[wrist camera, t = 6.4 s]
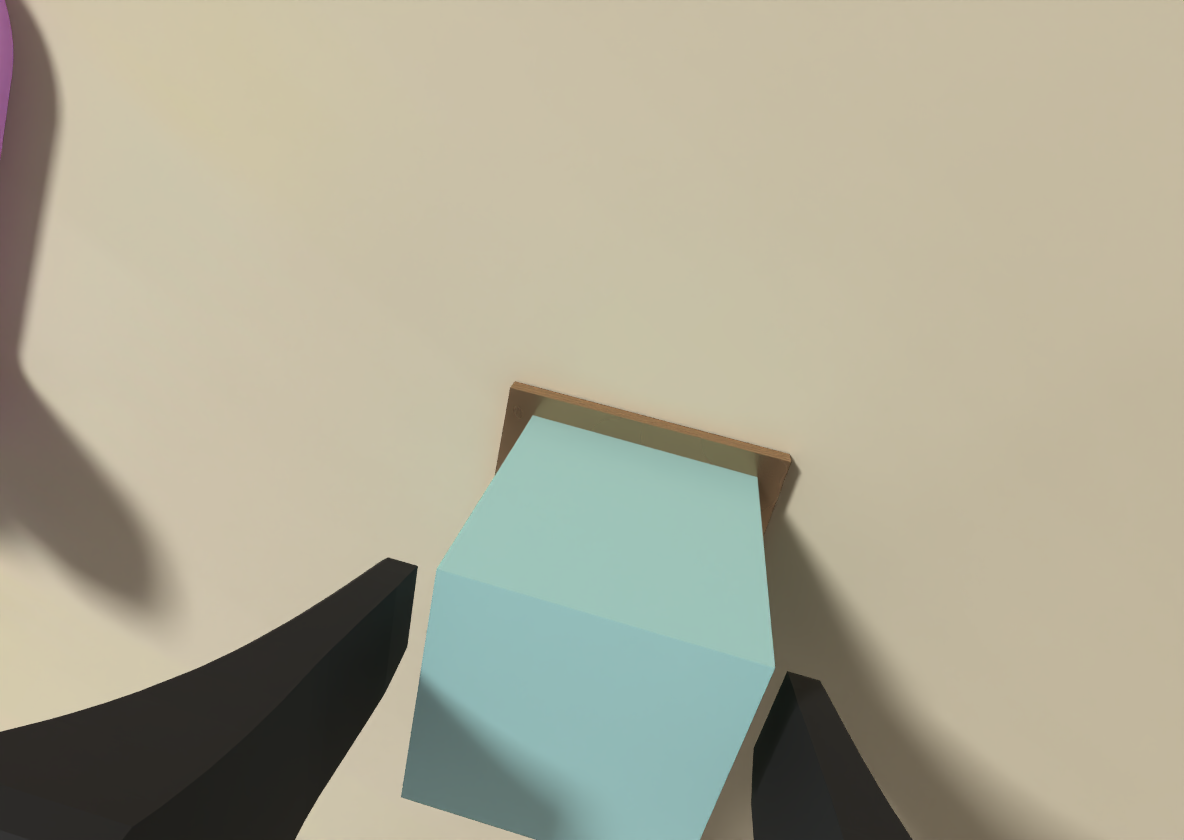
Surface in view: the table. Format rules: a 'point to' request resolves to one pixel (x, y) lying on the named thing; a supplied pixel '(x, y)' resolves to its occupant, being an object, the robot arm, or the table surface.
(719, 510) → the teal cube
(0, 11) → the bracket
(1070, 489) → the table surface
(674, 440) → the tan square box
